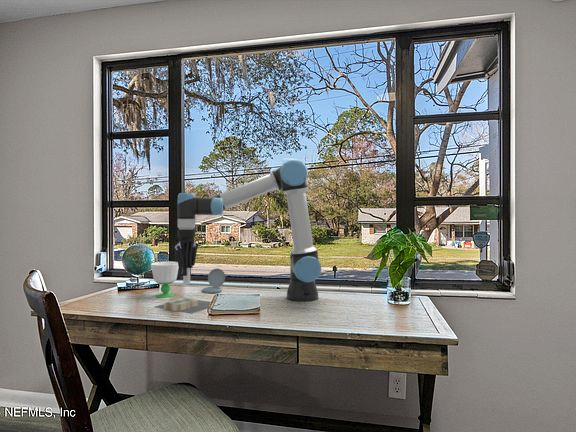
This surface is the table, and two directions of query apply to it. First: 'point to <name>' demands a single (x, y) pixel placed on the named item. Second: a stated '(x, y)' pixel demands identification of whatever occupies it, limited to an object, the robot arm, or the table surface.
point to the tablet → (181, 304)
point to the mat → (201, 306)
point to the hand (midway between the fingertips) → (186, 282)
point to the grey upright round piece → (215, 281)
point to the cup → (165, 276)
